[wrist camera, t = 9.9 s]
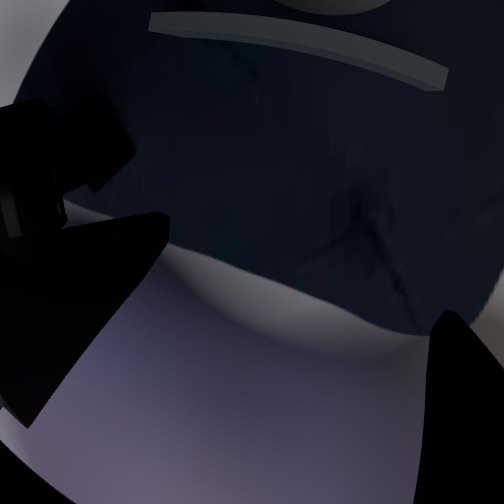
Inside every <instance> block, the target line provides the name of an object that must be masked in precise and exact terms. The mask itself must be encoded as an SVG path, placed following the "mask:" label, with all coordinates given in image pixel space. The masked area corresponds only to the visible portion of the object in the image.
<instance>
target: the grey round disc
mask: <svg viewBox="0 0 504 504" xmlns="http://www.w3.org/2000/svg"><path fill="white" fill-rule="evenodd" d="M273 1H275V2H277V3H279V4H281V5H283V6H286V7H288V8H291V9H294V10H297V11H300V12H305V13H309V14H315V15H324V16H346V15H353V14H359V13H363V12H367V11H370V10H372V9H375V8H378V7H380V6H382V5H384V4H386V3H387V2H389V1H390V0H273Z"/></svg>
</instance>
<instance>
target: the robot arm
mask: <svg viewBox="0 0 504 504" xmlns="http://www.w3.org/2000/svg"><path fill="white" fill-rule="evenodd" d="M97 98H98V101H97ZM55 113H56V105H54V106H47V104H44V102H43V101H42V99H41V98H36V99H32V100H27V101H23V102H19V103H15V104H11V105H7V106H4V107H0V410H1V408H2V407H3V406H4V407H5V408H6V409H7V410H8V411H9V412H10V413H11V414H12V415H13V416H14V417H15V418H16V419H17V420H18V421H19V422H20V423H21V424H23V425H24V426H25V427H26V428H27V429H28V428H29V427H30V426H31V424H32V423H33V421H34V420H35V419H36V417H37V416H38V414H39V413H40V411H41V410H42V409H43V407H44V406H45V404H46V403H47V402H48V400H49V399H50V397H51V396H52V395H53V393H54V392H55V390H56V389H57V388H58V386H59V385H60V383H61V382H62V381H63V379H64V378H65V376H66V375H67V374H68V373H69V371H70V370H71V369H72V367H73V366H74V364H75V363H76V362H77V361H78V359H79V358H80V357H81V355H82V354H83V353H84V351H85V350H86V349H87V348H88V346H89V345H90V343H91V342H92V341H93V340H94V339H95V337H96V336H97V335H98V334H99V332H100V331H101V330H102V329H103V327H104V326H105V325H106V324H107V322H108V321H109V320H110V319H111V317H112V316H113V315H114V314H115V312H116V311H117V310H118V309H119V307H120V306H121V305H122V304H123V303H124V301H125V300H126V299H127V298H128V297H129V296H130V294H131V293H132V292H133V291H134V290H135V288H136V287H137V286H138V285H139V284H140V282H141V281H142V280H143V279H144V277H145V276H146V275H147V273H148V272H149V270H150V269H151V267H152V266H153V264H154V263H155V261H156V260H157V258H158V257H159V255H160V254H161V253H162V251H163V250H164V248H165V247H166V245H167V243H168V240H169V229H170V217H169V216H168V215H167V214H164V213H161V212H152V213H146V214H140V215H134V216H128V217H122V218H116V219H111V220H105V221H100V222H94V223H89V224H84V225H78V226H73V227H68V228H64V229H61V228H62V227H63V226H64V225H65V224H66V223H67V222H68V219H67V214H65V208H64V202H63V195H65V194H67V193H69V192H71V191H73V190H75V189H77V188H79V187H81V186H83V185H85V184H88V186H89V187H90V189H91V190H92V192H97V191H99V190H100V189H101V188H102V187H103V186H104V185H105V184H106V183H107V182H108V181H109V180H110V179H111V178H112V177H113V176H114V175H115V174H116V173H117V172H118V171H119V170H120V169H121V168H122V167H123V166H124V165H125V164H127V163H128V162H129V161H130V160H131V159H132V158H133V157H134V156H135V154H136V149H135V147H134V145H133V144H132V142H131V140H130V139H129V137H128V136H127V134H126V132H125V131H124V129H123V128H122V126H121V124H120V123H119V121H118V120H117V118H116V116H115V115H114V113H113V111H112V110H111V108H110V107H109V105H108V103H107V102H106V100H105V98H104V97H103V95H102V94H95V95H93V97H92V98H91V99H90V100H89V102H88V103H87V104H86V105H85V107H84V108H83V109H82V111H80V112H76V113H72V114H71V115H68V116H64V117H60V118H56V119H55ZM129 150H130V152H131V153H129ZM413 502H414V503H413V504H504V369H503V367H502V366H501V364H500V363H499V362H498V361H497V359H496V358H495V357H494V356H493V354H492V353H491V352H490V351H489V349H488V348H487V347H486V346H485V345H484V343H482V341H481V340H480V339H479V338H478V336H477V335H476V334H475V333H474V332H473V330H472V329H471V328H470V327H469V326H468V325H467V324H466V322H465V321H464V320H463V319H462V318H461V317H460V316H459V315H458V314H457V313H456V312H453V311H450V310H445V311H444V312H443V313H442V315H441V316H440V318H439V319H438V321H437V322H436V324H435V325H434V327H433V328H432V330H431V333H430V340H429V352H428V363H427V371H426V393H425V415H424V428H423V438H422V448H421V457H420V465H419V471H418V478H417V484H416V491H415V495H414V501H413ZM0 504H76V503H74V502H73V501H72V500H70V499H69V498H67V497H66V496H64V495H63V494H62V493H60V492H59V491H58V490H56V489H55V488H54V487H52V486H51V485H50V484H49V483H48V482H46V481H45V480H44V479H43V478H41V477H40V476H39V475H38V474H36V473H35V472H34V471H33V470H32V469H31V468H30V467H28V466H27V465H26V464H25V463H24V462H23V461H22V460H21V459H19V458H18V457H17V456H16V455H15V454H14V453H13V452H12V451H11V450H10V449H9V448H8V447H7V446H6V445H5V444H4V443H3V442H2V441H1V440H0Z"/></svg>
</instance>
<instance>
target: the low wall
mask: <svg viewBox="0 0 504 504" xmlns="http://www.w3.org/2000/svg"><path fill="white" fill-rule="evenodd" d="M148 31H152V32H158V33H163V34H169V35H174V36H178V37H187V38H204V39H217V40H228V41H237V42H245V43H252V44H259V45H266V46H272V47H278V48H283V49H288V50H294V51H299V52H303V53H308V54H312V55H317V56H321V57H325V58H329V59H333V60H337V61H340V62H344V63H348V64H351V65H355V66H358V67H361V68H364V69H368V70H371V71H374V72H377V73H380V74H383V75H386V76H389V77H392V78H394V79H397V80H400V81H403V82H405V83H408V84H410V85H413V86H415V87H418V88H420V89H423V90H425V91H439V90H444V87H445V83H446V79H447V74H448V70H449V69H448V68H446V67H444V66H442V65H439V64H437V63H435V62H432V61H430V60H428V59H425V58H423V57H420V56H418V55H415V54H413V53H410V52H407V51H405V50H402V49H399V48H396V47H393V46H391V45H388V44H385V43H382V42H378V41H375V40H372V39H369V38H365V37H362V36H358V35H355V34H351V33H347V32H344V31H340V30H336V29H331V28H327V27H323V26H318V25H313V24H308V23H303V22H297V21H292V20H285V19H279V18H272V17H264V16H256V15H246V14H234V13H219V12H155V13H151V18H150V23H149V29H148Z"/></svg>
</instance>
